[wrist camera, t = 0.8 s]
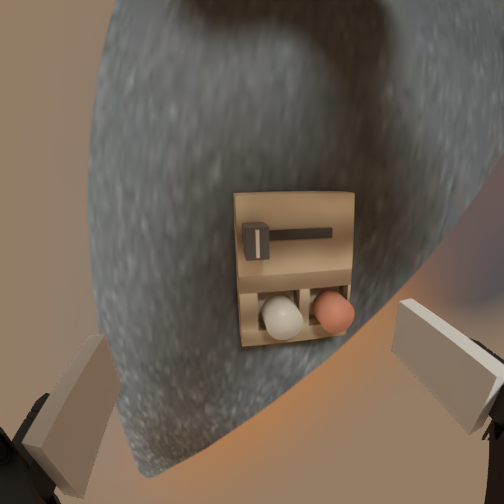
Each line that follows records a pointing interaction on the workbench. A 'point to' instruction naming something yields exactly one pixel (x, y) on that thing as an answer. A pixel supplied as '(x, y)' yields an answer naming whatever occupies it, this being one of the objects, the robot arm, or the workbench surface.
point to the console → (293, 256)
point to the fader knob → (255, 241)
